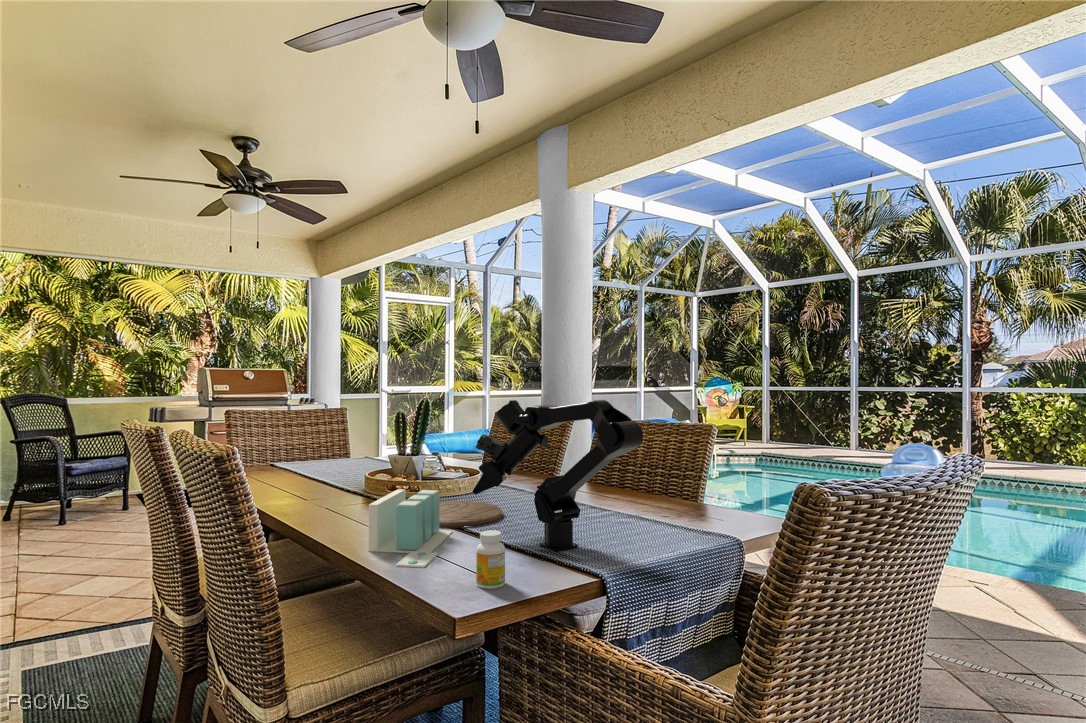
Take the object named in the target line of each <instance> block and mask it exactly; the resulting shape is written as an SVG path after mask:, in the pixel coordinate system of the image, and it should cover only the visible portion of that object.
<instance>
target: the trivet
mask: <svg viewBox="0 0 1086 723" xmlns="http://www.w3.org/2000/svg"><path fill="white" fill-rule="evenodd" d="M502 513H503V510H502V509H501V507H499V506H498V505H495V504H492V503H487V502H481V501H446V502H445V501H444V502H440V508H439V529H460V528H459V527H464V526H475V527H479V526H478V525H481V526H485V525H484V524H486V525H489V524H492V522H493V523H495V522H497V521H499V520H500V519H501V518H502V517H503V514H502ZM501 516H502V517H501ZM496 520H497V521H496Z"/></svg>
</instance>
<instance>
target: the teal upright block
mask: <svg viewBox="0 0 1086 723" xmlns="http://www.w3.org/2000/svg"><path fill="white" fill-rule="evenodd" d="M406 501H421V503H423V542H426V541H427V540H428V539H429V538H430V537H431V497H430V496H428V495H417V494H413V495H411V496H410V497H408V498H407V500H406Z"/></svg>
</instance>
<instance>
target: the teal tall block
mask: <svg viewBox="0 0 1086 723" xmlns="http://www.w3.org/2000/svg"><path fill="white" fill-rule="evenodd" d="M422 544H423V503H421V501H407V500H406V501H403V502H401V503H400V504H398V506H397V509H396V549H408V550H416V549H418V548H419V547H420V546H421V545H422Z"/></svg>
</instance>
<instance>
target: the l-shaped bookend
mask: <svg viewBox="0 0 1086 723" xmlns="http://www.w3.org/2000/svg"><path fill="white" fill-rule="evenodd" d="M406 493H407V492H406V489H401V488H399V489H396V490H394V491H392V492H390V493H388V494H386V495H384V496H382V497H381V498H378V499H377V500H375V501H372V502H371V503H369V504H368V552H375V551H376V552H378V553H381V552H382V553H400V554H402V553H404V554H405V553H407V554H409V553H410V552H428V553H433V551H434V550H435V549H436V548H438V546H440V545H441V544H442V543H443V542H444V541H445V540H446V539H447V538H448V537H449V536H451V534H452V533H453V532H454V531H453V530H439V531H437V532H436V533H435V534H431V537H430V538H429V539H428V540H427V541H426V542H423V544H422V545H421V546H420V547H419V548H418V549H416V550H408V549H396V509H397V506H398V504H400V503H401V502H403V501H407V500H406V496H407V495H406ZM376 552H375V553H376Z"/></svg>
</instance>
